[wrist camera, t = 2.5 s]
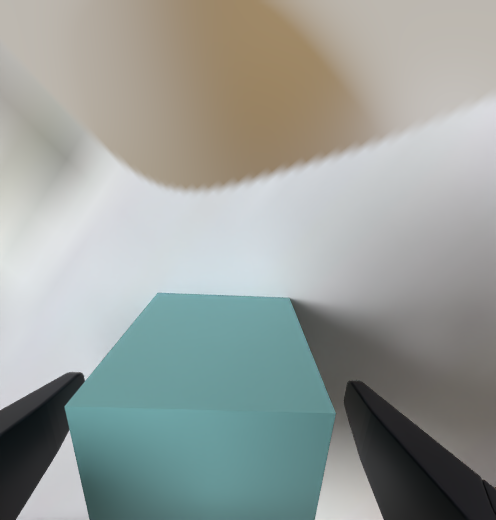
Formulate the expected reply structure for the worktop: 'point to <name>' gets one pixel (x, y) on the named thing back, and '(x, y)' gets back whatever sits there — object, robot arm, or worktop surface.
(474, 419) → the worktop surface
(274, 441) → the teal block
